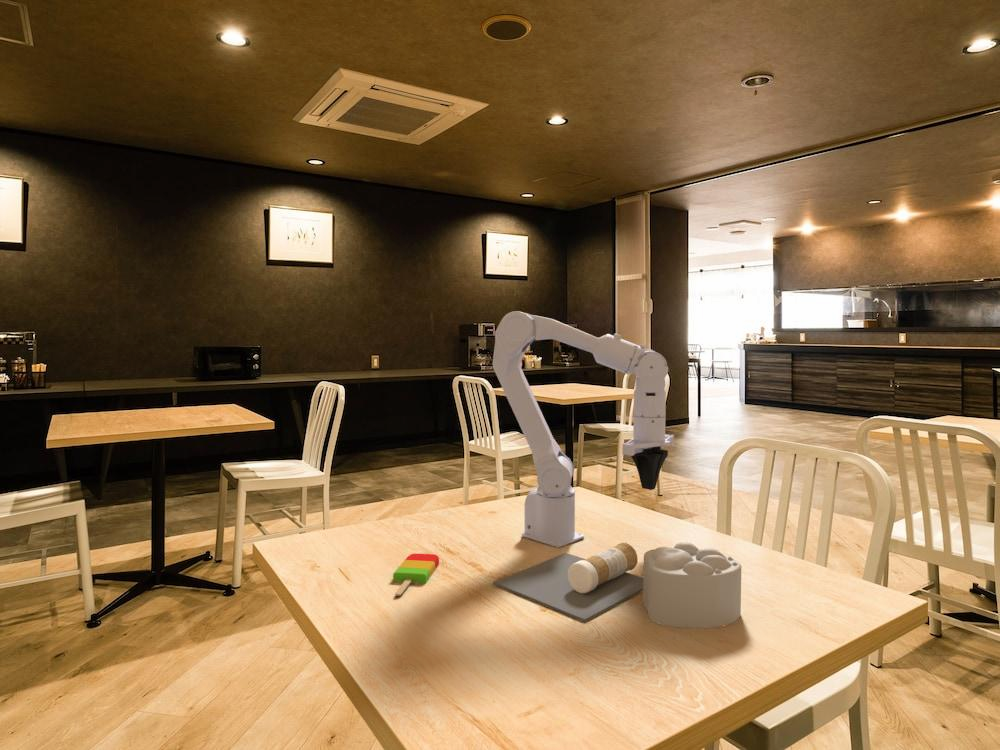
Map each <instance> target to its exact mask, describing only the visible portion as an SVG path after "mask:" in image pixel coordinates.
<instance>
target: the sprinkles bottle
mask: <svg viewBox="0 0 1000 750" xmlns="http://www.w3.org/2000/svg"><path fill="white" fill-rule="evenodd" d="M585 559H586V560H581V561H578V562H576V563H574V564H572V565H571V566H570V568H569V570H568V580H569V583H570V585H571V586H572V588H573V589H574V590H575V591H577V592H579V593H588V592H590V591H592V590H594V589H595V588H596V587H597V586H599V585H601V584H603V583H605V582H607V581H609V580H612V579H614V578H616V577H618V576H620V575H622V574H623V573H625V572H628V571H632V570H634V569H635V568H636V567H637V565H638V561H639V560H638V554H637V551H636V549H635V548H634V547H633V546H631V544H629V543H627V542H621V543H618V544H616V546H613V547H609V548H607V549H605V550H602V551H600V552H598V553H596V554H594V555H592V556H590V557H588V558H585Z"/></svg>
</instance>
